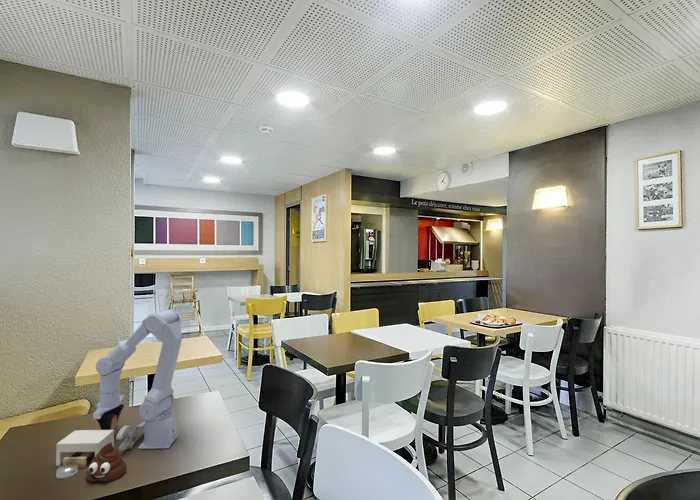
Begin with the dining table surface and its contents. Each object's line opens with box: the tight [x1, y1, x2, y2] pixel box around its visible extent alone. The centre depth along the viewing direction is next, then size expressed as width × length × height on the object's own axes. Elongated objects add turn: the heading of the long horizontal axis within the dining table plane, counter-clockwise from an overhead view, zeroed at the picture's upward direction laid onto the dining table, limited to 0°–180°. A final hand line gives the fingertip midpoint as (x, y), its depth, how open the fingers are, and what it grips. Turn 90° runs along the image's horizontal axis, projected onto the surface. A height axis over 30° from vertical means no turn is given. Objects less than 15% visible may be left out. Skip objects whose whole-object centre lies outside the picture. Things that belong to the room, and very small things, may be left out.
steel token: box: [55, 462, 79, 480], centre depth 104 cm, size 5×5×2 cm
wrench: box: [115, 408, 172, 451], centre depth 127 cm, size 8×2×30 cm
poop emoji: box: [85, 442, 127, 483], centre depth 104 cm, size 10×8×9 cm
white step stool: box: [55, 429, 115, 467], centre depth 112 cm, size 12×8×6 cm, turn 94°
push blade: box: [62, 415, 118, 469], centre depth 116 cm, size 6×19×7 cm, turn 4°
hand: (109, 430), depth 124 cm, fingers closed on push blade, 3 cm apart
